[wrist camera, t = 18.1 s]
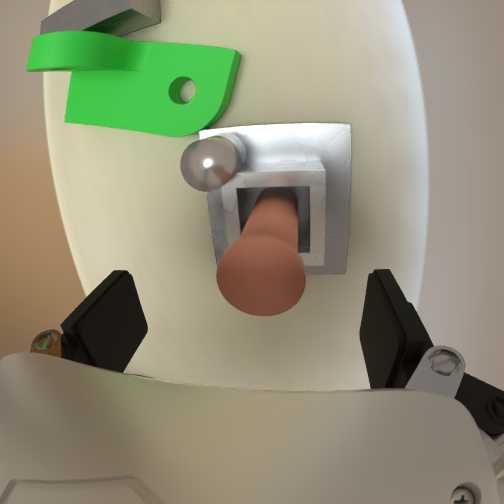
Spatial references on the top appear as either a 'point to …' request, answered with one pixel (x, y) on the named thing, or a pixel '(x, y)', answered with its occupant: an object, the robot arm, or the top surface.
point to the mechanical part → (138, 81)
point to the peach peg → (265, 258)
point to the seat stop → (103, 16)
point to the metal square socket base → (278, 183)
